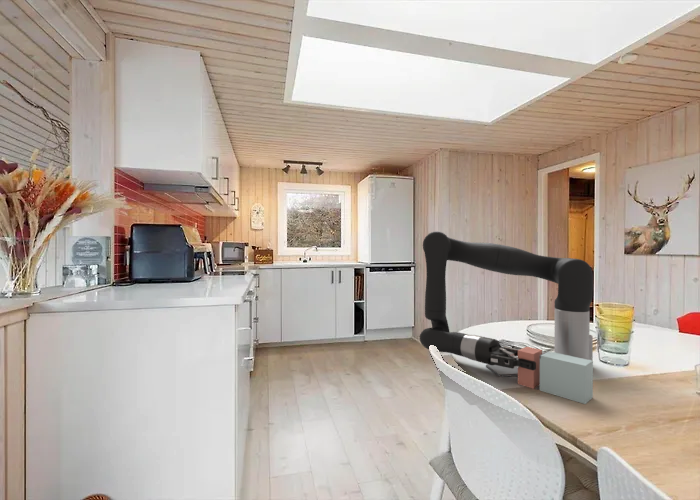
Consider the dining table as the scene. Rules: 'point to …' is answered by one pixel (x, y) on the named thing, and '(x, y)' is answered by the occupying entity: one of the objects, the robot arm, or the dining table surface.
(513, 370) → the coaster
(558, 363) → the pale green block
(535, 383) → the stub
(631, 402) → the dining table surface
